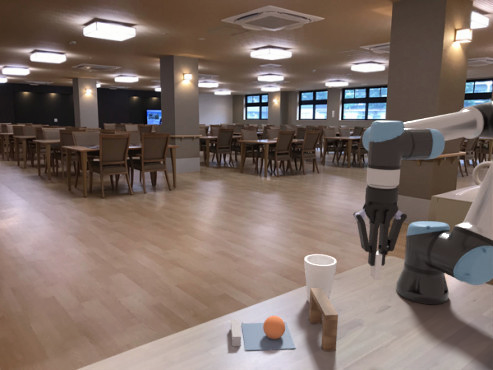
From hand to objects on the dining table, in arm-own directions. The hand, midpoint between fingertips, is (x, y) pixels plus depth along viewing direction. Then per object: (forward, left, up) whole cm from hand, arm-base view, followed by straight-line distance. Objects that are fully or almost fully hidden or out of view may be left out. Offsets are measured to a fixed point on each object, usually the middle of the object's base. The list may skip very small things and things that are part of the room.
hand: (375, 277), depth 102 cm
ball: (+26, +1, -12) cm, 28 cm away
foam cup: (+9, -18, -15) cm, 25 cm away
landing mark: (+27, 0, -15) cm, 31 cm away
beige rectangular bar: (+35, 0, -15) cm, 38 cm away
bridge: (+13, 0, -15) cm, 20 cm away
